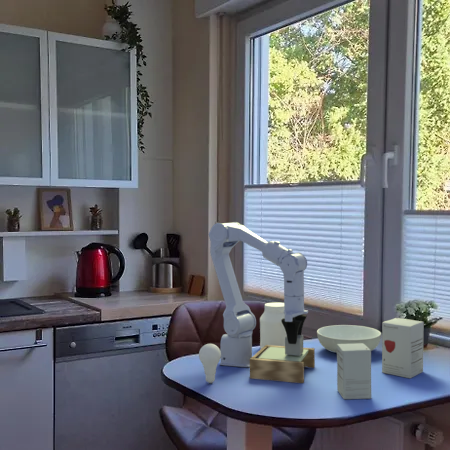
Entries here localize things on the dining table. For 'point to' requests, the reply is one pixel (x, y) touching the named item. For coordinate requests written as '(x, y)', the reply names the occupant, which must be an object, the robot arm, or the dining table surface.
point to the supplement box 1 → (354, 371)
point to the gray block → (294, 346)
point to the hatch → (281, 354)
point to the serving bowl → (348, 336)
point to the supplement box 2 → (402, 347)
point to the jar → (272, 325)
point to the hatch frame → (280, 367)
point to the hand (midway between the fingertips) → (294, 341)
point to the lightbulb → (209, 360)
